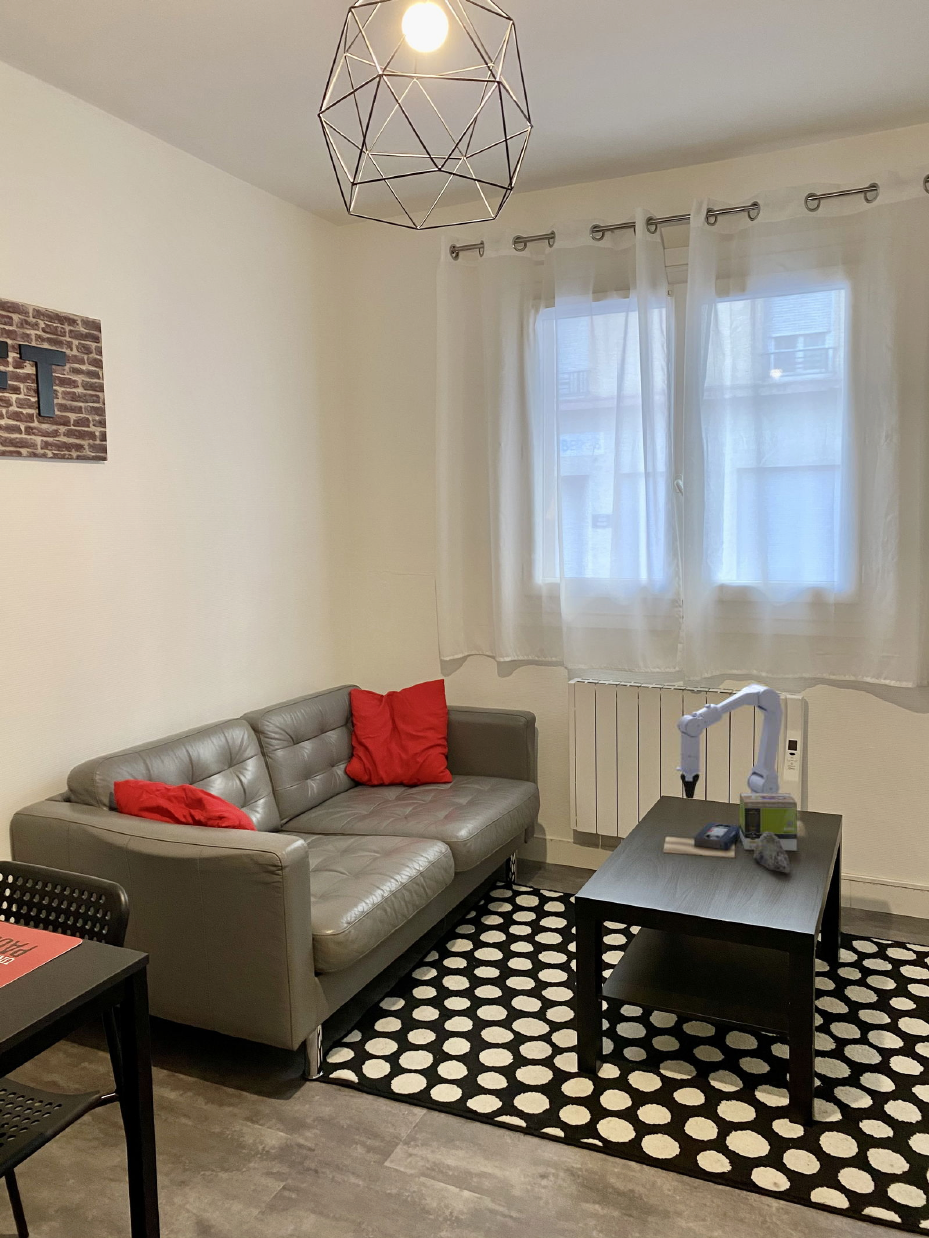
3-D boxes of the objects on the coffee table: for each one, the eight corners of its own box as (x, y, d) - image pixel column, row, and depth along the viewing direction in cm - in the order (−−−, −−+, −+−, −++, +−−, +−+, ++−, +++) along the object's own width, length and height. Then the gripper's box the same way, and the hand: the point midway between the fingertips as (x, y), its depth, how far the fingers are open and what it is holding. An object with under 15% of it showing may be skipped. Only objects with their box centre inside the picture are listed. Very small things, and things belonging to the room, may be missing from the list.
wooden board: (666, 837, 297) (666, 836, 296) (734, 842, 291) (734, 841, 291) (663, 852, 284) (663, 851, 284) (734, 858, 278) (734, 857, 278)
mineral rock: (789, 879, 262) (790, 843, 261) (748, 874, 266) (748, 838, 265) (794, 863, 274) (794, 828, 272) (754, 858, 278) (754, 824, 277)
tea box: (790, 840, 293) (791, 792, 291) (797, 852, 283) (798, 802, 281) (738, 838, 295) (739, 791, 293) (743, 850, 285) (744, 800, 283)
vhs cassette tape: (709, 821, 304) (742, 825, 299) (709, 830, 304) (742, 835, 299) (693, 835, 287) (727, 840, 283) (693, 845, 288) (727, 850, 283)
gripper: (678, 748, 308) (677, 790, 310) (675, 759, 295) (675, 803, 296) (701, 749, 307) (700, 791, 308) (699, 760, 293) (699, 805, 294)
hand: (689, 797), depth 302 cm, fingers closed
